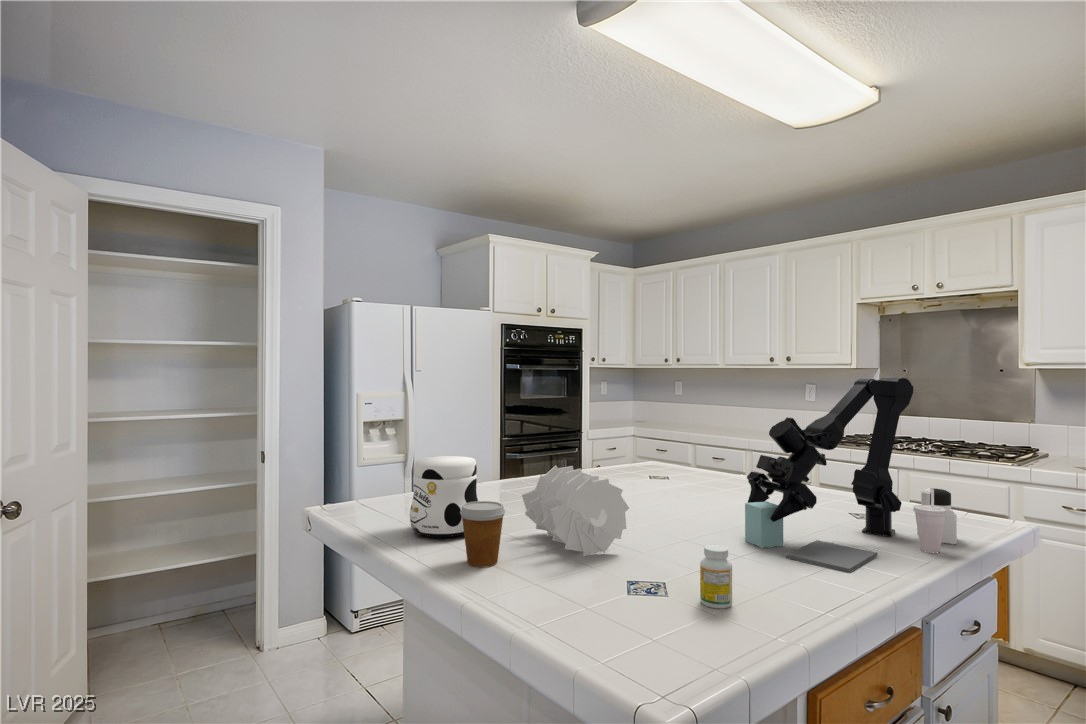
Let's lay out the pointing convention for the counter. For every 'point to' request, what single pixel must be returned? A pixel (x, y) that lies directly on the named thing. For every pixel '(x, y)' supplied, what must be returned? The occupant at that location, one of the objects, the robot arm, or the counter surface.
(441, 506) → the milk container
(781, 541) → the pale teal box
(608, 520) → the spiral staircase
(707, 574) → the supplement bottle
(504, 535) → the counter surface
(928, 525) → the smoothie
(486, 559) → the disposable coffee cup
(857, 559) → the mat
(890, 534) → the robot arm
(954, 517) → the medicine bottle
